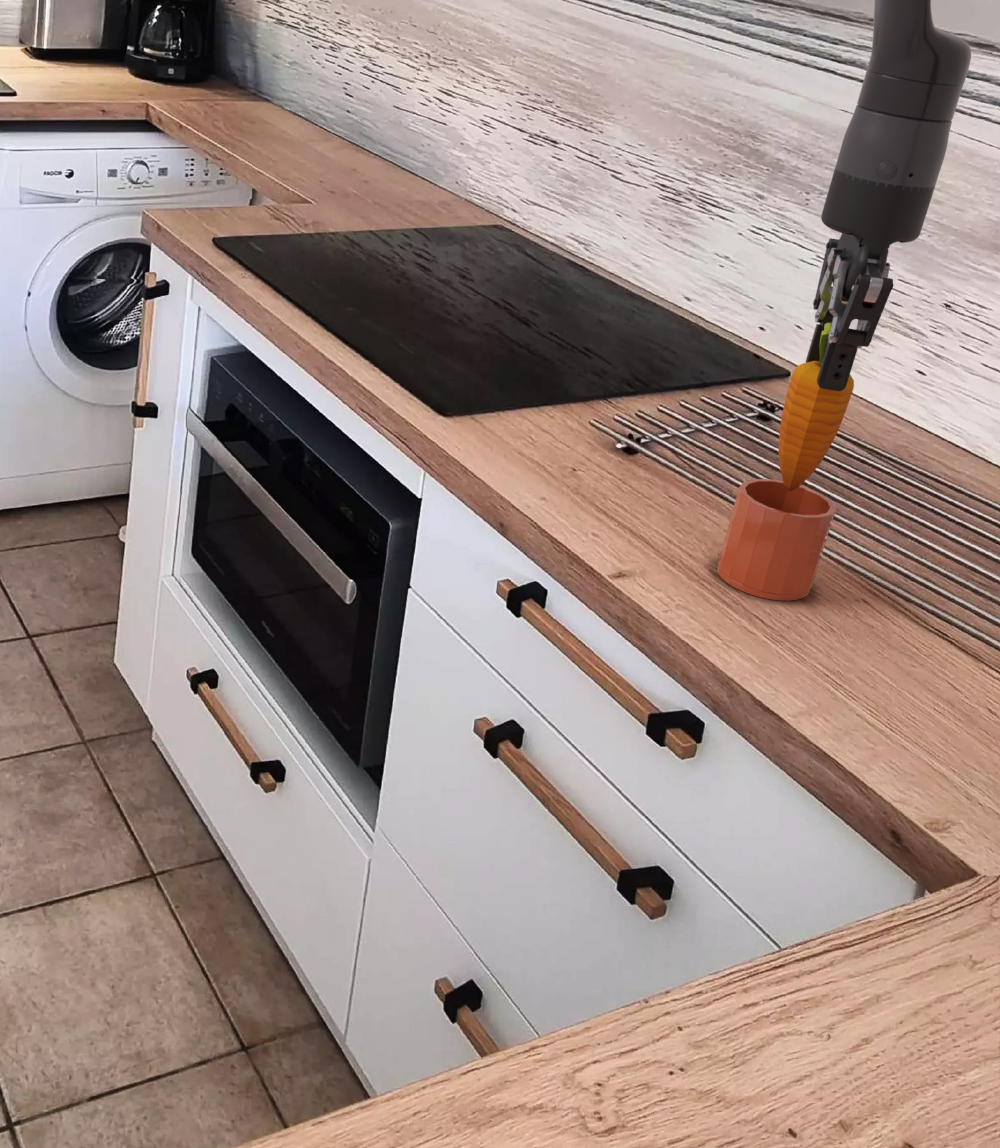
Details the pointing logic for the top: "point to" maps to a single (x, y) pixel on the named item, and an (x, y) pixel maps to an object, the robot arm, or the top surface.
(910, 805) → the top surface
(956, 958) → the top surface
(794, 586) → the pot
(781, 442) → the carrot
